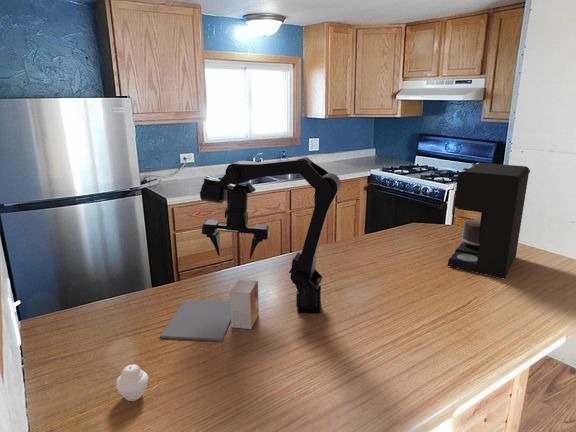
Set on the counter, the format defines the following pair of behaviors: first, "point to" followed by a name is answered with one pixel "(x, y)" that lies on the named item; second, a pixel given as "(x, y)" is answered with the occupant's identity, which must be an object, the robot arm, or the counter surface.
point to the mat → (199, 320)
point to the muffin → (132, 382)
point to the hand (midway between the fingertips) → (234, 256)
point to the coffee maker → (490, 217)
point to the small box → (244, 304)
